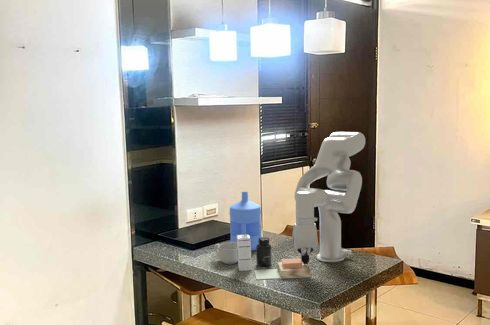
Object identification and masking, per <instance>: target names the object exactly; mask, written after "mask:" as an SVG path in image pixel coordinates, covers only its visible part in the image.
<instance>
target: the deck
mask: <svg viewBox="0 0 490 325" xmlns="http://www.w3.org/2000/svg"><path fill="white" fill-rule="evenodd" d="M302 263H303V262H302ZM277 269H278V271H279V274H280V276H281V278H282V279H289V278H288V277H302V278H309V277H308V276H311V269H310V267H309V264H305V265H304V264H303V268H283V266H282V261H277Z"/></svg>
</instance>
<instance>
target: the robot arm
mask: <svg viewBox="0 0 490 325" xmlns="http://www.w3.org/2000/svg"><path fill="white" fill-rule="evenodd" d="M365 145H366V137H365V135H364V134H363V133H362V132H359V131H335V132H332V133H331V134H329V137H326V138H324V139H323V141H322V143H321V145H320V149H319V151H318V153H317V158H316V159H315V163H314V165H313V166H311V167H310V168H309V169H308V170H306V171H305V172H304V173H303V174H302V175H301V177H300V178H299V180H298V182H297V185H296V188H295V191H294V200H295V223H293V228H292V247H291V248H292V250H293V251H295V252H298V253H300V255H301V258H300V259H301V261H302V262H303V264H304V265H305V264H307V265H309V262H310V255H311V253H312V252H314V251H316V250H319V253H318V254H317V255H316V259H317V260H318V261H319V262H320V261H321V262H323V263H340V262H343V261H344V260H345V256H346V255H352V249H346V248H345V249H343V248H342V220H341V217H340V215H339V213H340V214H352V213H353V212H354V211H355V210H356V207H357V204H358V200H359V197H360V192H361V191H362V185H363V178H362V175H361V172H360V171H358V170H354V169H350V168H351V163H352V162H351V158H350V157H352V156H354V155H357V153H359V152H361V151H362V150H363V149H364V148H365ZM324 177H327V178H326V186H327V188H329V189H321V188H313V187H310V185H311V184H312V183H313V182H315V181H316V180H319V179H321V178H324ZM315 208H318V213H319V239H318V231H317V225H316V223H315V222H317V221H318V217H315ZM318 240H319V244H318ZM318 246H319V247H318Z"/></svg>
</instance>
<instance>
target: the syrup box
mask: <svg viewBox="0 0 490 325" xmlns="http://www.w3.org/2000/svg"><path fill="white" fill-rule="evenodd" d="M237 250H238V262H237V266H238V268H237V269H238V271H240V272H243V271H245V272H246V271H247V272H248V271H252V270H253V269H252V268H253V265H252V251H251V242H250V236H249V235H237Z"/></svg>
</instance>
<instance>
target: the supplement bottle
mask: <svg viewBox="0 0 490 325" xmlns="http://www.w3.org/2000/svg"><path fill="white" fill-rule="evenodd" d="M258 243H259V244H258V245H257V246H256V250H255V255H256V256H255V258H256V259H255V262H256V265H257V266H258V267H260V268H261V267H263V268H265V267H266V268H267V267H270V266H271V265H272V264H273V263H272V261H273V260H272V254H273V253H272V252H273V250H272V245H271V243H270V238H269V237H266V236H263V237H262V236H261V238H259V239H258Z"/></svg>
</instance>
